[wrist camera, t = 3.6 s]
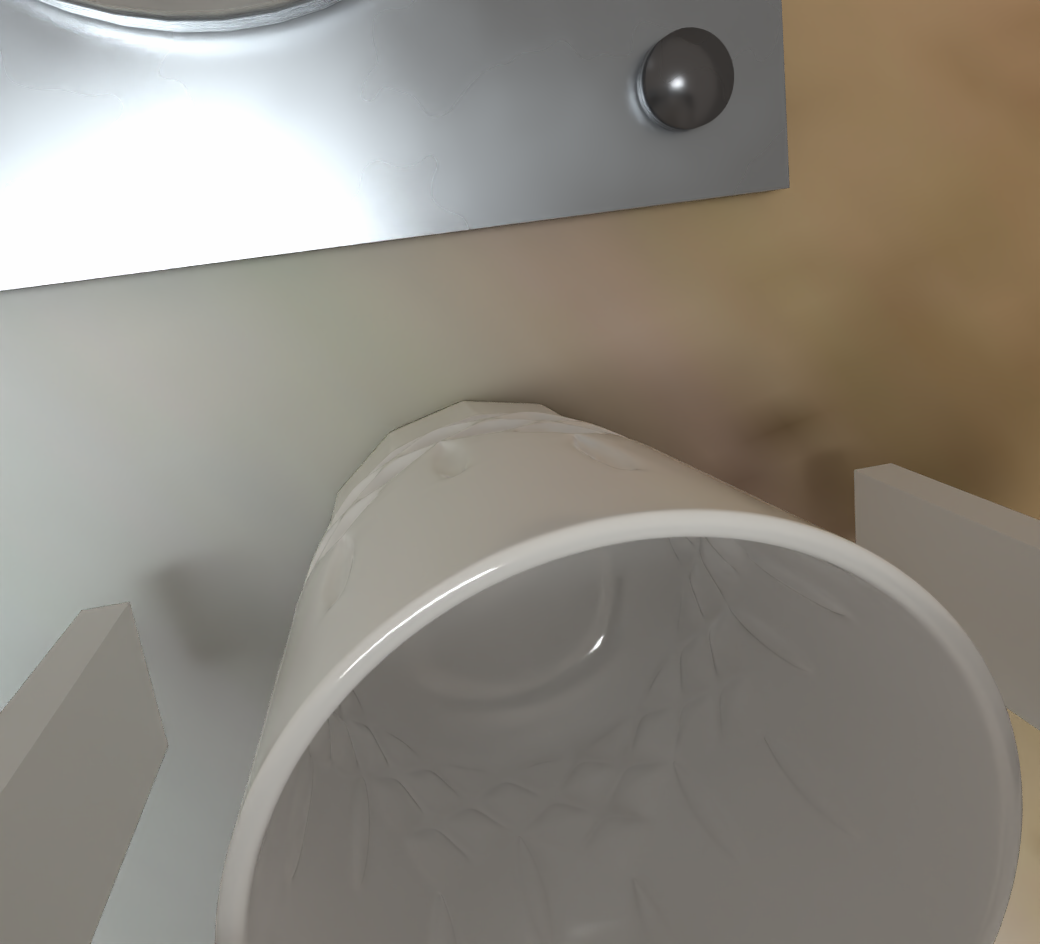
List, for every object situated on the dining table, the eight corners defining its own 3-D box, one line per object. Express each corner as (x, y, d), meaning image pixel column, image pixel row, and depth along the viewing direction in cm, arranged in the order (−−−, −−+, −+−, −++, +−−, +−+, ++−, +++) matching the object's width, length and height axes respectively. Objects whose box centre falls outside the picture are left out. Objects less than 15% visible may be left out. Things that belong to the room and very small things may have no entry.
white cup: (248, 410, 16) (97, 631, 6) (649, 335, 17) (1027, 428, 8) (338, 773, 18) (325, 1346, 9) (690, 685, 19) (1026, 1104, 10)
